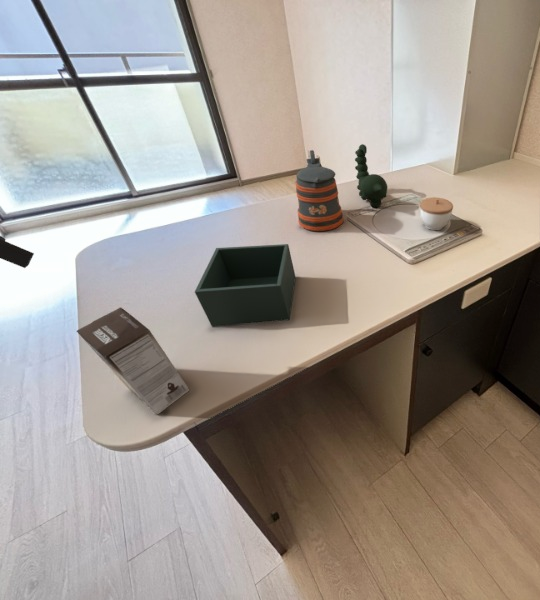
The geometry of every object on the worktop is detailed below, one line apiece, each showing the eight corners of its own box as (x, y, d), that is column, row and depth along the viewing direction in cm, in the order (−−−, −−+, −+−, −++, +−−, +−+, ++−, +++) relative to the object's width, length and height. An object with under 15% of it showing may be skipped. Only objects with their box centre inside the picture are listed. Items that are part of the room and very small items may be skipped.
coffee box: (128, 391, 59) (72, 329, 48) (164, 367, 63) (119, 305, 52) (156, 416, 55) (103, 356, 45) (192, 389, 59) (151, 328, 49)
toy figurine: (351, 193, 132) (368, 215, 113) (346, 142, 121) (365, 157, 102) (373, 190, 134) (394, 211, 116) (370, 140, 123) (393, 154, 104)
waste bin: (211, 326, 71) (194, 291, 65) (229, 281, 84) (216, 247, 77) (289, 320, 74) (280, 285, 67) (295, 276, 86) (288, 243, 80)
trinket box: (451, 234, 106) (456, 207, 100) (419, 233, 106) (421, 205, 99) (448, 218, 114) (451, 192, 108) (417, 217, 114) (419, 191, 108)
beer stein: (295, 209, 116) (284, 150, 103) (336, 204, 120) (330, 147, 107) (301, 234, 102) (289, 170, 89) (347, 228, 106) (342, 166, 93)
